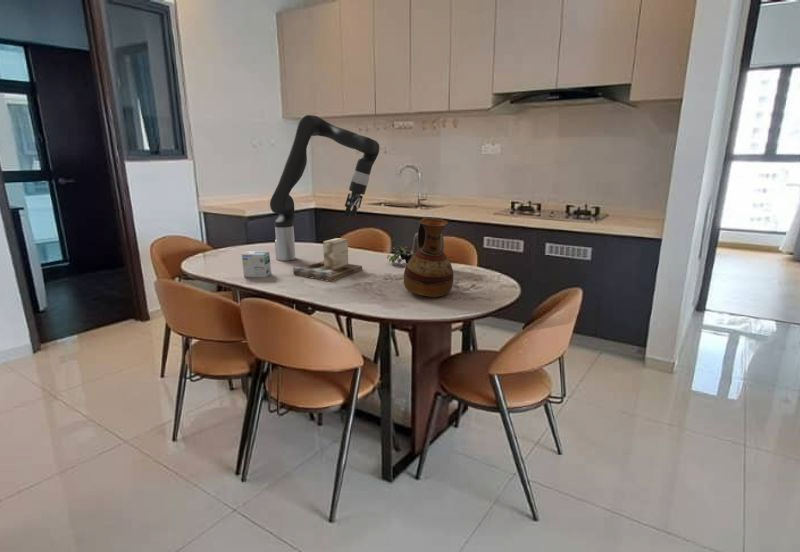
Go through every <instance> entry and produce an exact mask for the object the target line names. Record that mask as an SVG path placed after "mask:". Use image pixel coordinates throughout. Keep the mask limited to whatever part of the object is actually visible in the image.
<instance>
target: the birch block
mask: <svg viewBox="0 0 800 552" xmlns="http://www.w3.org/2000/svg"><path fill="white" fill-rule="evenodd" d="M348 241H349V239H347V238H340V237H339V238H338V237H335V238H332V239H328V240H324V241H323V242H322V244H323V245H322V246H323V248H322V249H323V261H324V267H330V268H338V267H341V266H344V265H347V264H349V244H348V243H349V242H348Z"/></svg>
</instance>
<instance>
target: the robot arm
mask: <svg viewBox="0 0 800 552" xmlns="http://www.w3.org/2000/svg"><path fill="white" fill-rule="evenodd" d="M311 137H325V138H328V139H330V140H332V141H334V142H336V143H338V144H339V145H341V146H343V147H346V148H349V149H352V150H356V151H358V152H361V153H362V154H363V155H362V157H361V158H359V159H358V160H357V162H356V166H355V169H354V172H353V174H352V178H351V179H350V180H351V181H350V184H349V188H348V191H350V192H351V193H348V194H347V197H346V201H345V204H344V207H345V212H344V214H343V216H344V217H346V218H350V217H353V218H355V217H356V216H357V212H358V210H359V209H360V208H361V204H362V201H363V195H365V194H366V191H367V187H368V183H369V180H370V175H371V172H372V167H373V165H374V164H375V162H376V160H377V157H378V155H379V154H380V143H379V142H378V141H377V140H375V139H373V138H371V137H367V136H366V135H365V136H364V135H361V134H358V133H356V132H354V131H350V130H348V129H344V128H342V127H339V126H336V125H333V124H331V123H330V122H328V121H327V120H325V119H323V118H321V117H320V116H318V115H313V114H304V115H303V116H301V117H300V119H299V122H298V123H297V128H296V132H295V136H294V140H293V142H292V145H291V149H290V151H289V154H288V156H287V158H286V159H287V160H286V162H285V163H284V164H285V165H284V167H283V171H282V173H281V176H280V178H279V181H278V184H277V186H276V187H275V189H274V192H273V194H272V196H271V199H270V200H269V207H270V210H271V211H272V212H273V214H275V215H276V214H278V216H277V218H276V219H275V221H274V231H275V240H274V249H275V251H274V252H275V259H276V260H278V261H283V262H284V261H286V262H287V261H293V260H295V259H296V247H295V246H296V244H295V231H294V222H295V218H296V217H295V202H294V199H293V197H292V196H291V195H290V193H291V191H292V189H293V188H294V187H295V186H296V185H297V183H298V182H299V181H300V179H301V178H302V176H304V175H303V174H304V172H305V170H306V167H307V164H308V163H307V162H308V155H307V149H308V148H307V147H308V145H309V143H310V140H311Z"/></svg>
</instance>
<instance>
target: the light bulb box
mask: <svg viewBox="0 0 800 552" xmlns="http://www.w3.org/2000/svg"><path fill="white" fill-rule="evenodd" d="M241 258H242V259H241V262H242V270H243V277H244V278H267V277H268V276H271V274H272V267H271V256H270V251H268V250H267V251H263V250H262V251H257V250H255V251H253V250H252V251H250V250H248V251H246V252H243V253H241Z"/></svg>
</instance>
